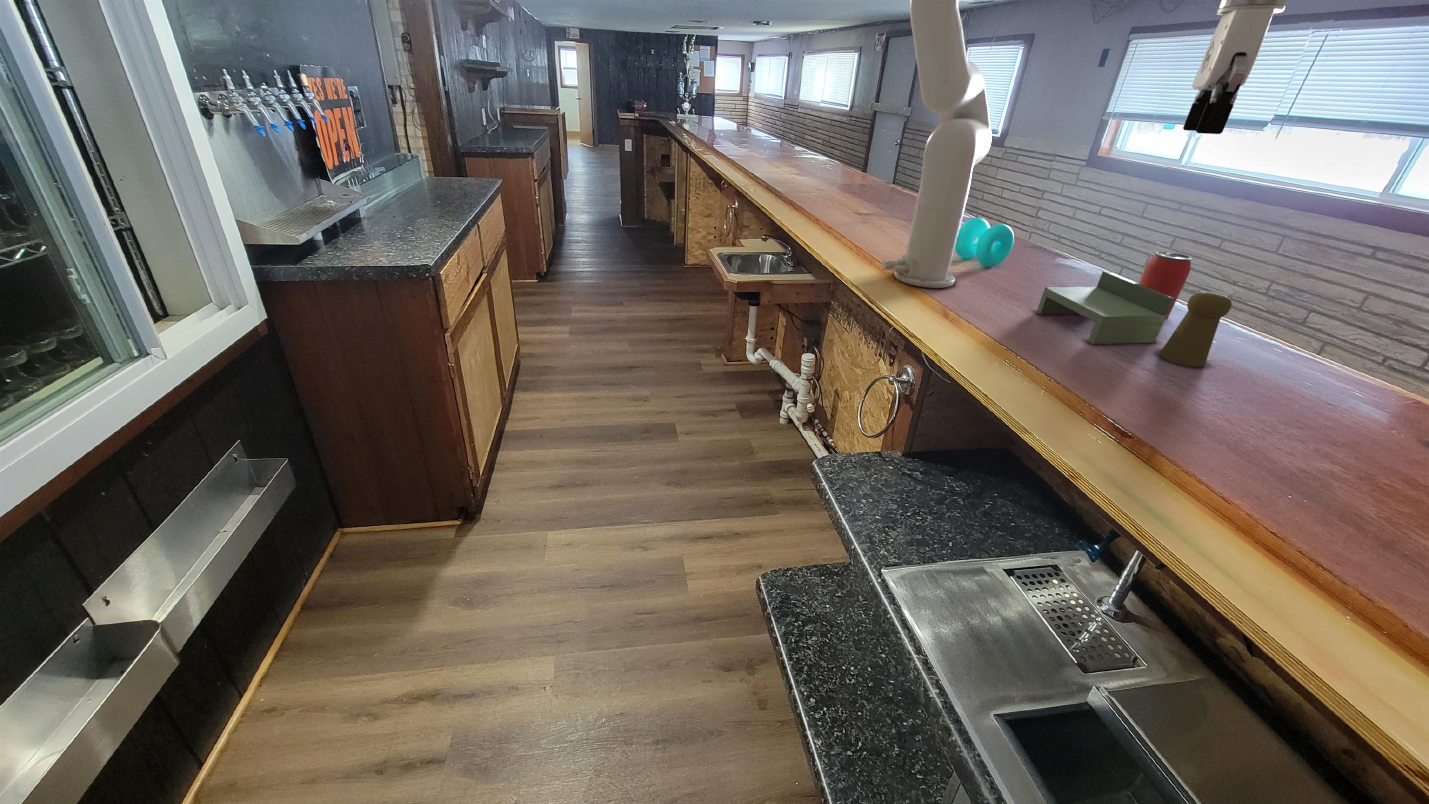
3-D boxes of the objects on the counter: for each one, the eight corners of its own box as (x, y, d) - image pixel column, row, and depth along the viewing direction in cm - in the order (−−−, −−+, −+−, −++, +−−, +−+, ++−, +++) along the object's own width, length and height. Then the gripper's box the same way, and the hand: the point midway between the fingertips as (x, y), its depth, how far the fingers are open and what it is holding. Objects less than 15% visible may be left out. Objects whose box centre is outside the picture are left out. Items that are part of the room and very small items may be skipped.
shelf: (1092, 344, 95) (1111, 299, 91) (1036, 312, 108) (1050, 271, 104) (1154, 342, 97) (1175, 298, 93) (1091, 311, 110) (1107, 271, 106)
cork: (1192, 369, 88) (1227, 302, 82) (1151, 354, 92) (1182, 290, 87) (1212, 363, 90) (1247, 297, 85) (1171, 348, 95) (1202, 285, 90)
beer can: (1153, 312, 111) (1181, 251, 105) (1174, 324, 105) (1204, 261, 99) (1119, 309, 111) (1144, 249, 105) (1137, 322, 106) (1165, 258, 100)
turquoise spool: (977, 255, 144) (988, 215, 139) (1009, 266, 136) (1022, 224, 131) (947, 258, 140) (957, 217, 135) (978, 270, 132) (990, 226, 127)
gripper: (1207, 9, 89) (1163, 128, 98) (1237, -7, 76) (1183, 133, 84) (1267, 7, 86) (1216, 131, 95) (1310, -10, 73) (1246, 136, 81)
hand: (1200, 132), depth 89 cm, fingers open, 9 cm apart
